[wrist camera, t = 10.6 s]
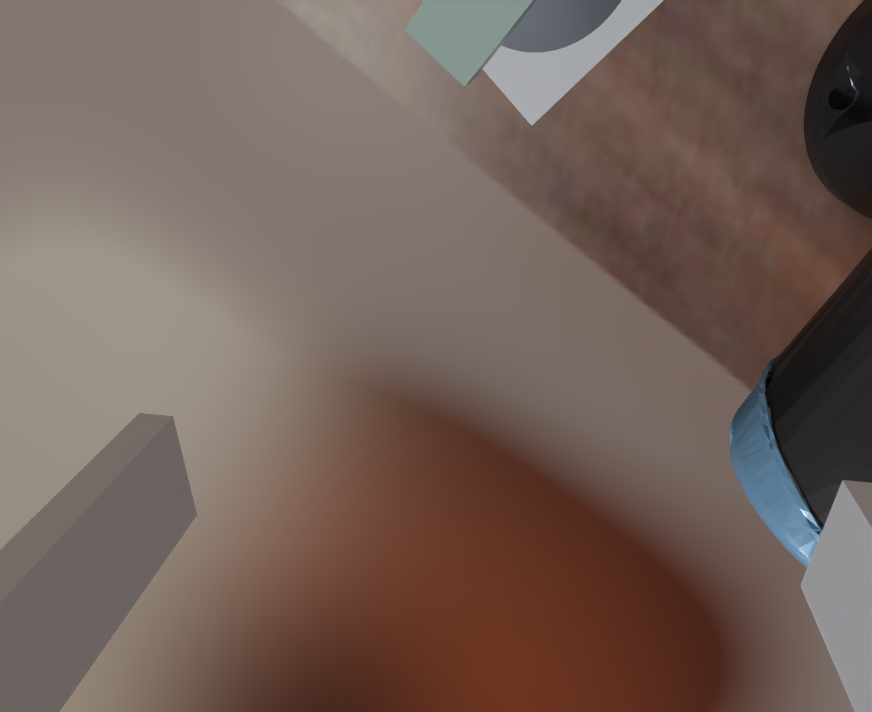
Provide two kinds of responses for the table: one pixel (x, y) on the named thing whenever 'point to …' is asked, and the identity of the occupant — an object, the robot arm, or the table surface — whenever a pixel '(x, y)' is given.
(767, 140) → the table surface
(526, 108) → the base
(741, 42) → the table surface
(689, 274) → the table surface
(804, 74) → the table surface
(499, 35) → the cap
